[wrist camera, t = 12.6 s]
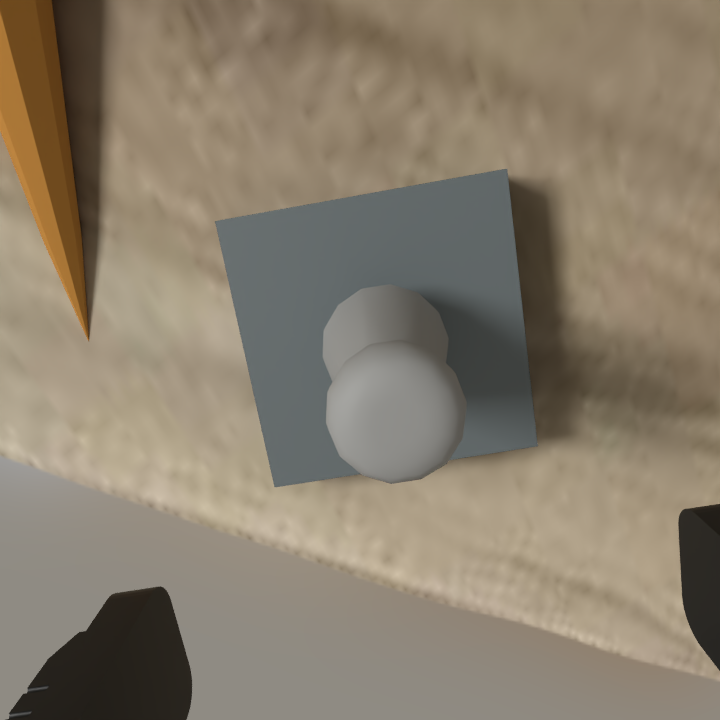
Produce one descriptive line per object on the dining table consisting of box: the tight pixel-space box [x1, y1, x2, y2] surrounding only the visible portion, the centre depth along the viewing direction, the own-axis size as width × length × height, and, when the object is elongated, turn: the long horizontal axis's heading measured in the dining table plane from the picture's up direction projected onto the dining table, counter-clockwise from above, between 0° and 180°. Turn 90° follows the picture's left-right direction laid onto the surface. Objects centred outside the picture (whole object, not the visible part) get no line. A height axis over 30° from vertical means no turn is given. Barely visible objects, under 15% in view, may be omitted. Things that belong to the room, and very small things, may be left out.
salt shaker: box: [323, 284, 467, 484], centre depth 23 cm, size 6×6×13 cm
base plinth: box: [215, 169, 538, 487], centre depth 31 cm, size 14×14×3 cm
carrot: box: [0, 0, 89, 341], centre depth 30 cm, size 20×4×4 cm, turn 5°
